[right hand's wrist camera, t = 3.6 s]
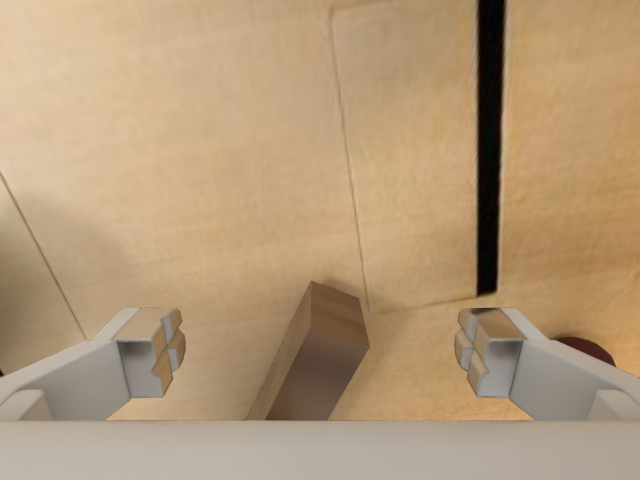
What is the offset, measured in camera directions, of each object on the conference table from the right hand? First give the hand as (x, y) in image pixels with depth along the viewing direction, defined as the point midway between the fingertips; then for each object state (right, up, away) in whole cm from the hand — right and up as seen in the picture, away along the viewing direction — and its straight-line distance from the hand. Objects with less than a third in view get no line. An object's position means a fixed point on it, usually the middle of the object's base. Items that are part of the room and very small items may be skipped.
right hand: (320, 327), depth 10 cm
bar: (-4, -15, +33) cm, 36 cm away
